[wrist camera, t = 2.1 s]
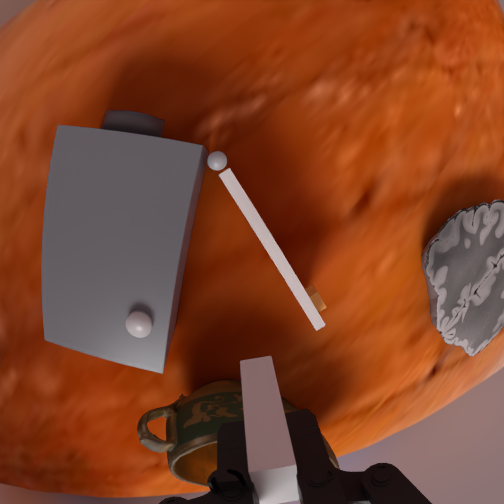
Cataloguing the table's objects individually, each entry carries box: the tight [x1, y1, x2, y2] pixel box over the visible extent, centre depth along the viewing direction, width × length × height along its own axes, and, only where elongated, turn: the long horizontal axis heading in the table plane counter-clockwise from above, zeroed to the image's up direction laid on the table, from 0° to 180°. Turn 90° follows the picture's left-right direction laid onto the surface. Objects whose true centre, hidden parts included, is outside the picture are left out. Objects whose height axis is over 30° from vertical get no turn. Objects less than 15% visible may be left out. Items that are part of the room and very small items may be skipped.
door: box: [208, 151, 326, 331], centre depth 23 cm, size 2×14×6 cm, turn 31°
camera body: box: [42, 110, 209, 373], centre depth 21 cm, size 10×18×8 cm, turn 167°
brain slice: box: [421, 200, 504, 356], centre depth 28 cm, size 20×17×3 cm
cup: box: [137, 379, 340, 487], centre depth 26 cm, size 13×20×10 cm, turn 29°
